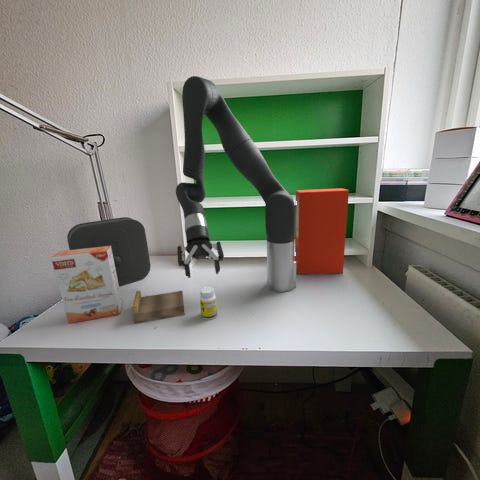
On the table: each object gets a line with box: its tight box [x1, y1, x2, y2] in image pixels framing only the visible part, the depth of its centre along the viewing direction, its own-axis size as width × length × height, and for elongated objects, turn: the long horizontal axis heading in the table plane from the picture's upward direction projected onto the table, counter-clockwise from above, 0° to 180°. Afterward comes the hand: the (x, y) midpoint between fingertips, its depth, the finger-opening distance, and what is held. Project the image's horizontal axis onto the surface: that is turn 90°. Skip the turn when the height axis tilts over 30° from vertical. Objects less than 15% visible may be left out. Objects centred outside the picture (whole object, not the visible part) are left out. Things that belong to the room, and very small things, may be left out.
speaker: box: [66, 216, 152, 288], centre depth 94 cm, size 25×9×25 cm, turn 129°
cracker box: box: [50, 246, 123, 324], centre depth 74 cm, size 14×6×21 cm, turn 105°
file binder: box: [294, 188, 350, 275], centre depth 97 cm, size 8×17×32 cm, turn 88°
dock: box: [131, 290, 186, 324], centre depth 76 cm, size 14×10×5 cm
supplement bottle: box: [199, 286, 218, 321], centre depth 72 cm, size 5×5×8 cm
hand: (203, 274), depth 76 cm, fingers open, 8 cm apart
